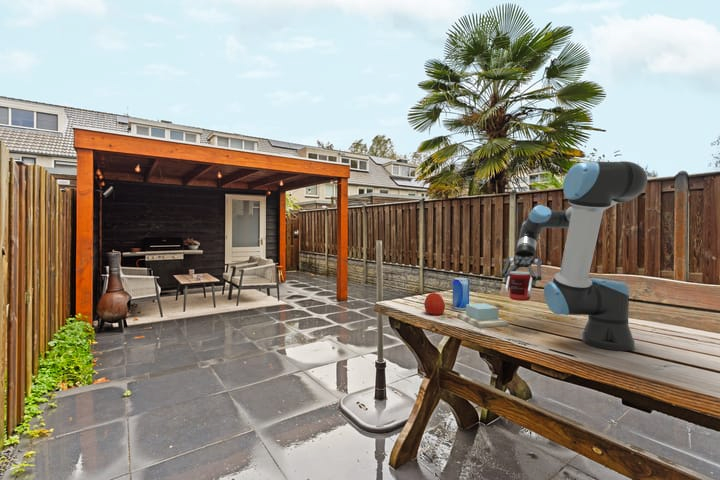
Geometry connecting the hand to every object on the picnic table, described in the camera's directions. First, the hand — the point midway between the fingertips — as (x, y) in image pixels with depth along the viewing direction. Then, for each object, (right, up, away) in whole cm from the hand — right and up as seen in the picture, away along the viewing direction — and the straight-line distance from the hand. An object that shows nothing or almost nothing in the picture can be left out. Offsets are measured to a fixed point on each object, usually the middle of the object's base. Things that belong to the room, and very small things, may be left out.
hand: (517, 291), depth 135 cm
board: (-8, -16, +17) cm, 25 cm away
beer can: (-10, -16, +42) cm, 46 cm away
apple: (-26, -16, +32) cm, 45 cm away
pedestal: (-8, -14, +17) cm, 24 cm away
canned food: (+2, -4, +3) cm, 5 cm away
